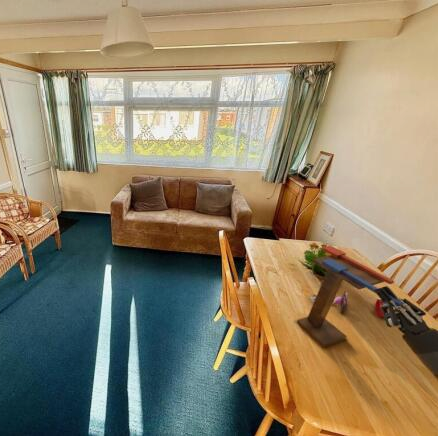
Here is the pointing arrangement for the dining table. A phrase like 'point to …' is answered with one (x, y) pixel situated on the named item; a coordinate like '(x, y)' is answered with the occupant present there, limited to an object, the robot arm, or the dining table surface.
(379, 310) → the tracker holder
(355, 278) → the blue paddle stick
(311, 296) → the grey flat lumpy piece
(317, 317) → the shelf stand
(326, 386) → the dining table surface
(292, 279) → the dining table surface
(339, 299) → the pink toy figure
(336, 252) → the red spatula
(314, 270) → the potted flower
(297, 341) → the dining table surface
